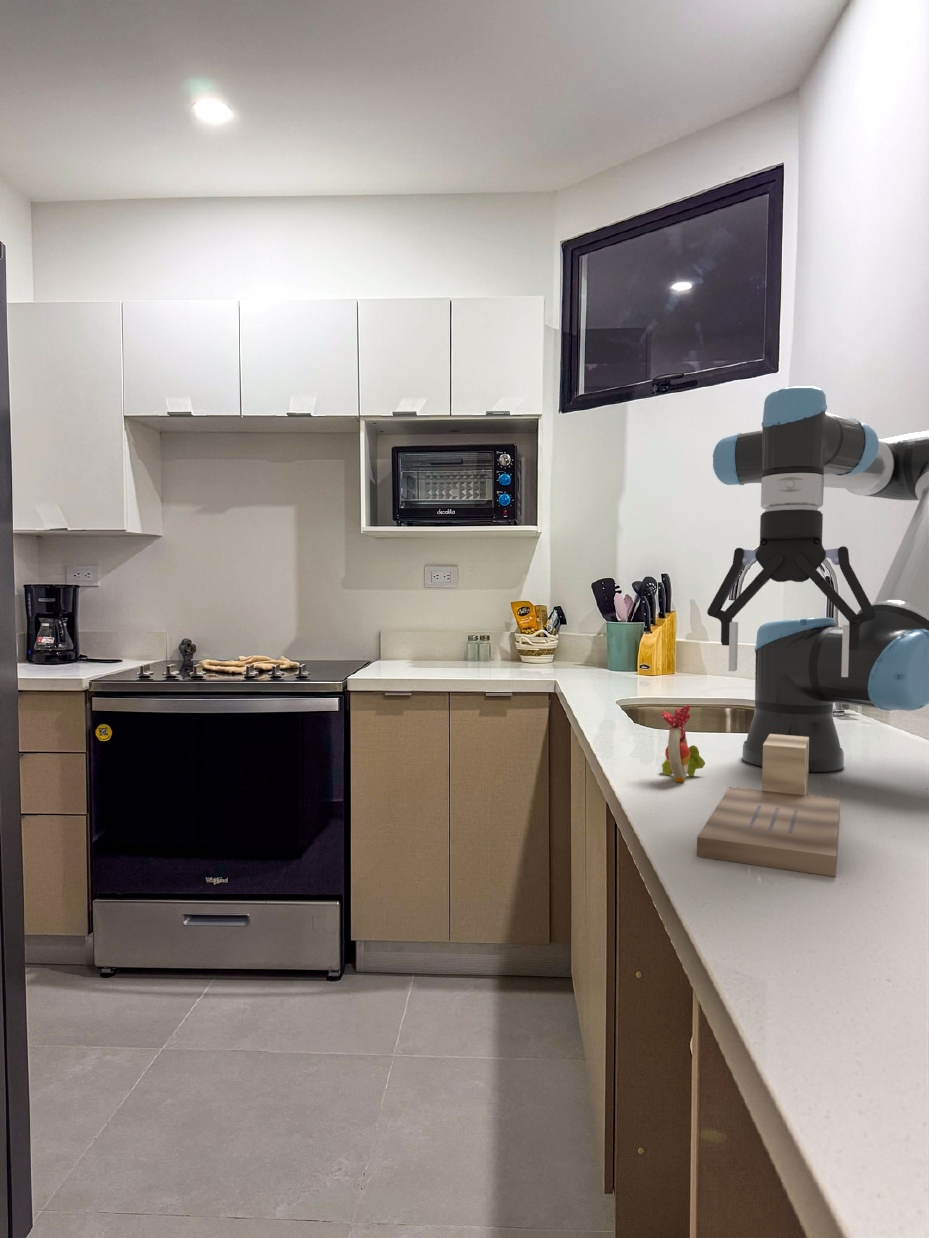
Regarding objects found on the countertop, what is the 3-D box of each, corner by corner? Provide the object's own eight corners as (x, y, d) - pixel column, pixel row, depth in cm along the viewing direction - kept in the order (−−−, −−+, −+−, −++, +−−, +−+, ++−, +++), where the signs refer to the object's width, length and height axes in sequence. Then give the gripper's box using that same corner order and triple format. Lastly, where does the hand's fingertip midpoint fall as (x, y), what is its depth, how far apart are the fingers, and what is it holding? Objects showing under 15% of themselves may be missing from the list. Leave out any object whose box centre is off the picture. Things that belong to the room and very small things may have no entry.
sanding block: (768, 791, 110) (769, 733, 110) (807, 795, 108) (809, 736, 108) (761, 806, 102) (763, 744, 102) (804, 811, 100) (805, 748, 100)
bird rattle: (702, 798, 114) (706, 761, 122) (700, 732, 110) (704, 698, 117) (657, 794, 116) (664, 758, 124) (654, 730, 112) (661, 697, 120)
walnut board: (729, 802, 104) (729, 786, 104) (839, 815, 98) (839, 798, 98) (696, 856, 82) (697, 836, 82) (835, 876, 77) (836, 855, 77)
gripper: (688, 510, 106) (684, 670, 107) (902, 503, 95) (896, 681, 96) (697, 516, 113) (694, 666, 113) (898, 510, 102) (893, 676, 102)
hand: (787, 673), depth 105 cm, fingers open, 13 cm apart
